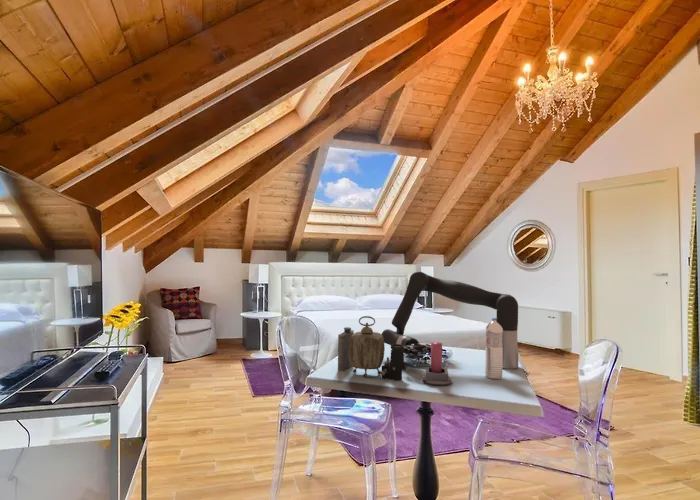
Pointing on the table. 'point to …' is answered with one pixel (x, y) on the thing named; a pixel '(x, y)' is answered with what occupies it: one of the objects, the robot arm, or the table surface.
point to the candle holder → (437, 378)
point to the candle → (436, 357)
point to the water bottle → (494, 350)
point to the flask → (344, 349)
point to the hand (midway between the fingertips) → (426, 352)
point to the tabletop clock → (366, 349)
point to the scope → (394, 364)
